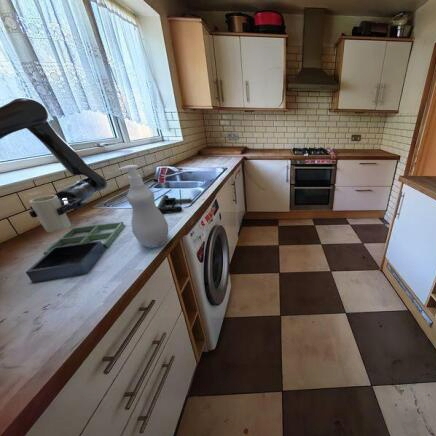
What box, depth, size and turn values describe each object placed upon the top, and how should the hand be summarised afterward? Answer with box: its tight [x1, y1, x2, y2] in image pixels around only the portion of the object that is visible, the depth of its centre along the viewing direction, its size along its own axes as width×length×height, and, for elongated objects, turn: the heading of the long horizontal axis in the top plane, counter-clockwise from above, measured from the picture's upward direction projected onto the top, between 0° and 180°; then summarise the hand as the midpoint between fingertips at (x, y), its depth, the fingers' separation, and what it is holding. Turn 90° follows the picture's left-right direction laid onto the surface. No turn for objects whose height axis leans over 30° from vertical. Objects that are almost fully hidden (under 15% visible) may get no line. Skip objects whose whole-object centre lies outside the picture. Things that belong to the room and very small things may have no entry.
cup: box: [29, 194, 72, 233], centre depth 77 cm, size 7×7×11 cm
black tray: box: [25, 240, 106, 283], centre depth 74 cm, size 14×14×4 cm
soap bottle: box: [118, 164, 169, 249], centre depth 81 cm, size 17×12×29 cm
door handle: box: [156, 194, 193, 214], centre depth 118 cm, size 3×20×16 cm
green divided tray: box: [42, 221, 125, 256], centre depth 88 cm, size 18×18×2 cm
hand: (45, 213), depth 75 cm, fingers closed on cup, 6 cm apart
